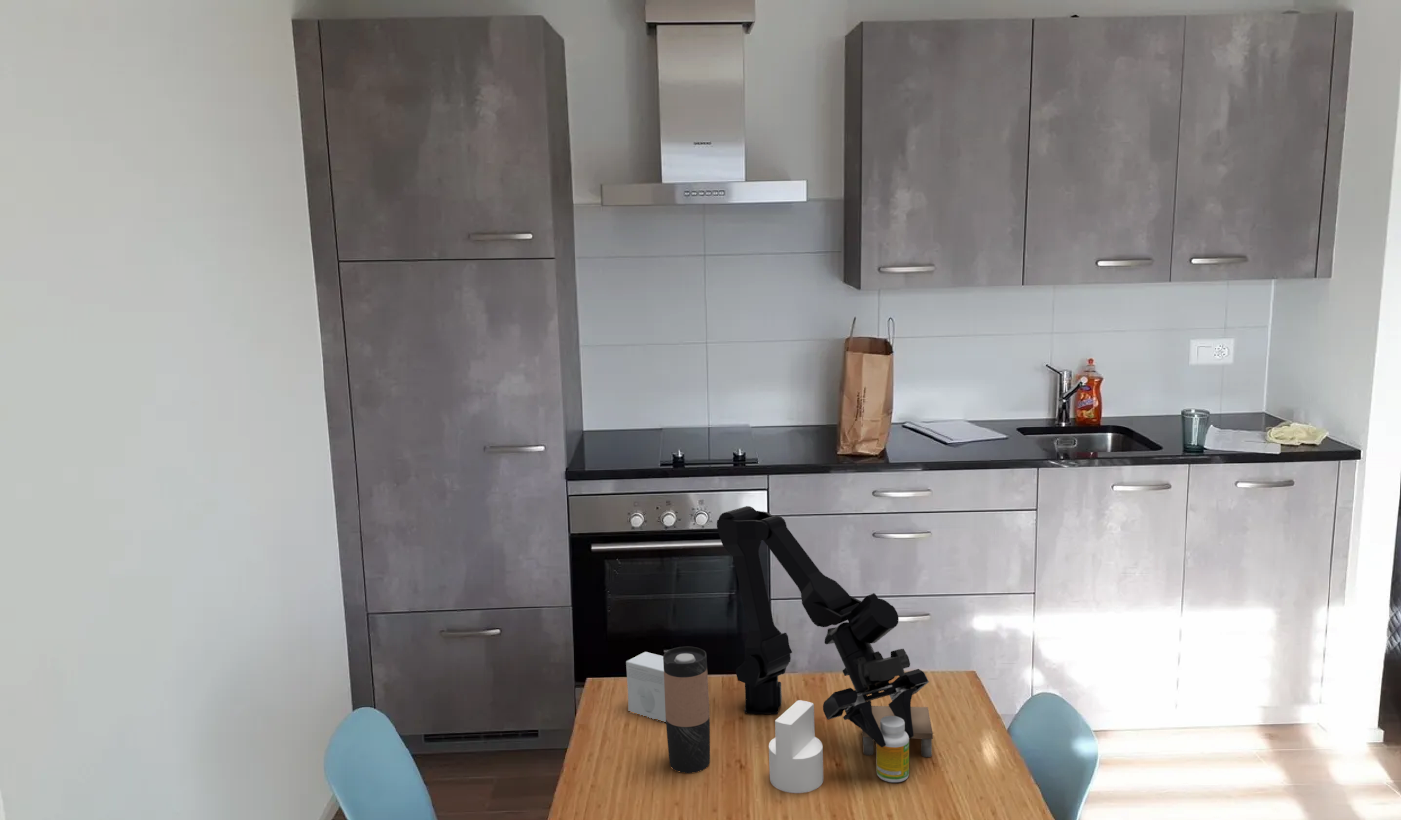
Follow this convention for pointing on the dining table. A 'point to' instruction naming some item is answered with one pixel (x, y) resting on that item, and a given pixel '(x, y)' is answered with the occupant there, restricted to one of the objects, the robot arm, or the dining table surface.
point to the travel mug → (687, 708)
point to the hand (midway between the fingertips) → (897, 741)
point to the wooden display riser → (919, 724)
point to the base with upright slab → (796, 751)
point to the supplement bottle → (893, 750)
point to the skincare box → (646, 685)
